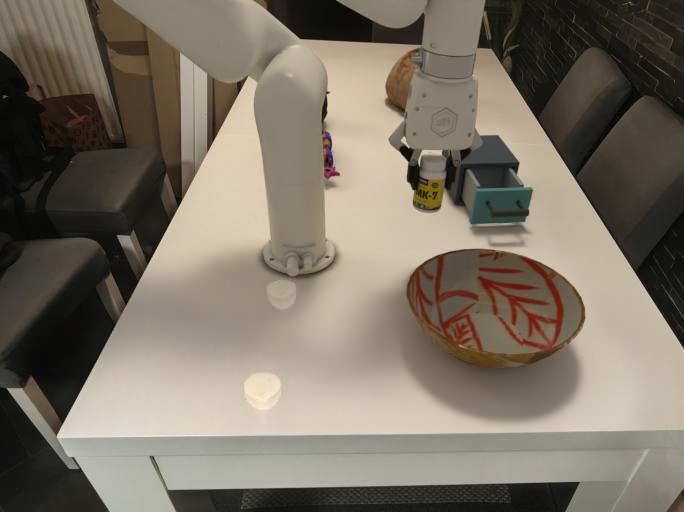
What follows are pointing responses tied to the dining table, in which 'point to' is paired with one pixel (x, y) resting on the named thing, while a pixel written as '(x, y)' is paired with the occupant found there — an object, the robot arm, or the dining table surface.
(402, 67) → the bread
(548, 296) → the bowl
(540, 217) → the dining table surface
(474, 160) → the drawer box
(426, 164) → the supplement bottle
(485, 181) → the teal drawer
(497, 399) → the dining table surface
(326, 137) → the purple toy figure
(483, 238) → the dining table surface
